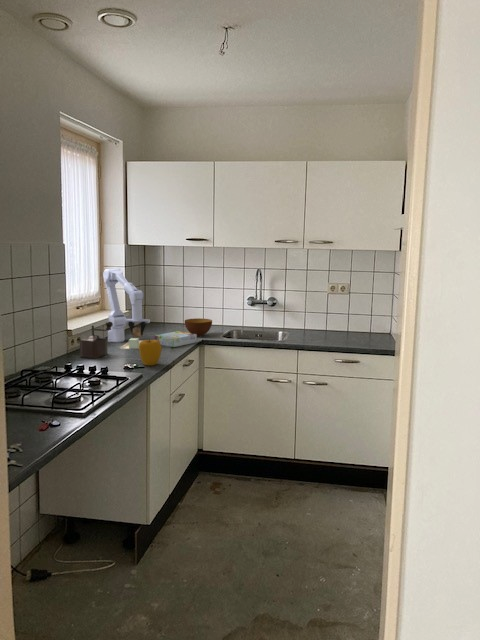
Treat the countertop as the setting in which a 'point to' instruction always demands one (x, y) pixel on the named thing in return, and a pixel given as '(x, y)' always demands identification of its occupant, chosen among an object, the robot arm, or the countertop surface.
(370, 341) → the countertop surface
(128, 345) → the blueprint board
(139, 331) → the walnut block
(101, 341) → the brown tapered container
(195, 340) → the snack box
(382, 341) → the countertop surface
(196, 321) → the bowl
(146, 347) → the yellow bell pepper
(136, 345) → the sage block
